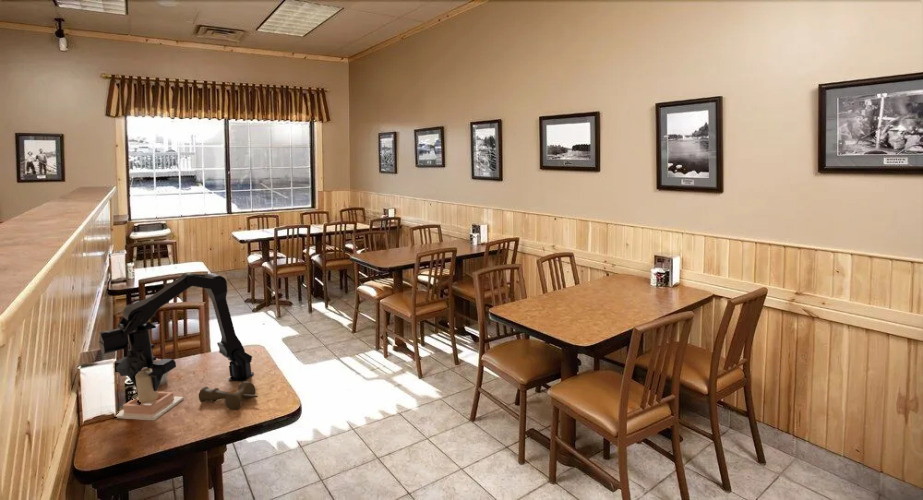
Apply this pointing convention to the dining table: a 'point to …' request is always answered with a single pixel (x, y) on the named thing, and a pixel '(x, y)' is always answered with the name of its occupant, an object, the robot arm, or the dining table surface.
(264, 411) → the dining table surface
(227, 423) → the dining table surface
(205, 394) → the kendama
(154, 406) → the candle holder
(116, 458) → the dining table surface
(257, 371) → the dining table surface
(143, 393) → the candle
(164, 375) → the cupcake
